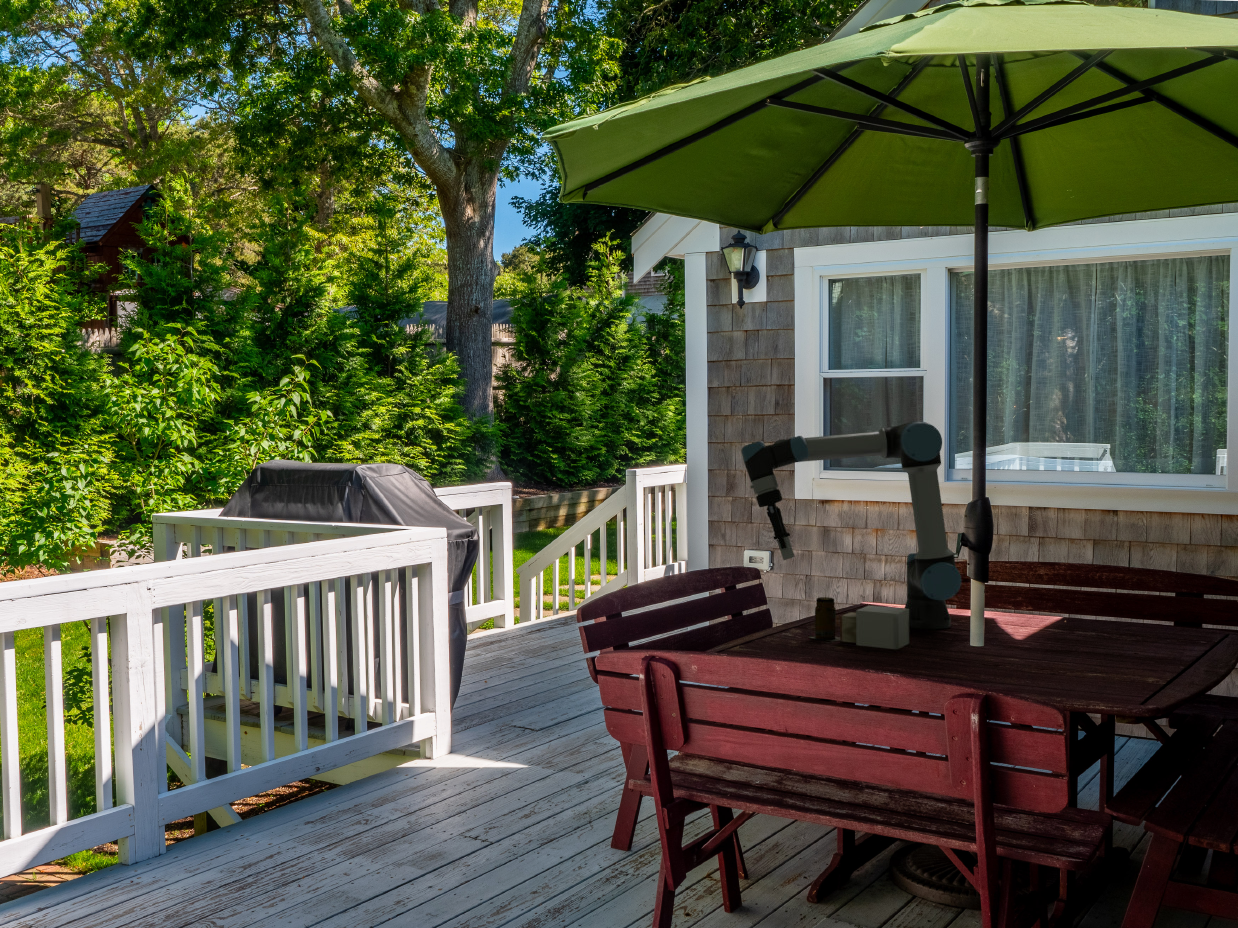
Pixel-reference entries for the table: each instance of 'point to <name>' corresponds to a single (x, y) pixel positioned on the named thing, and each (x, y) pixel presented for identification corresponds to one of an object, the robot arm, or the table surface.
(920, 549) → the robot arm
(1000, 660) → the table surface
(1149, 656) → the table surface
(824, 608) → the condiment
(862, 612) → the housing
